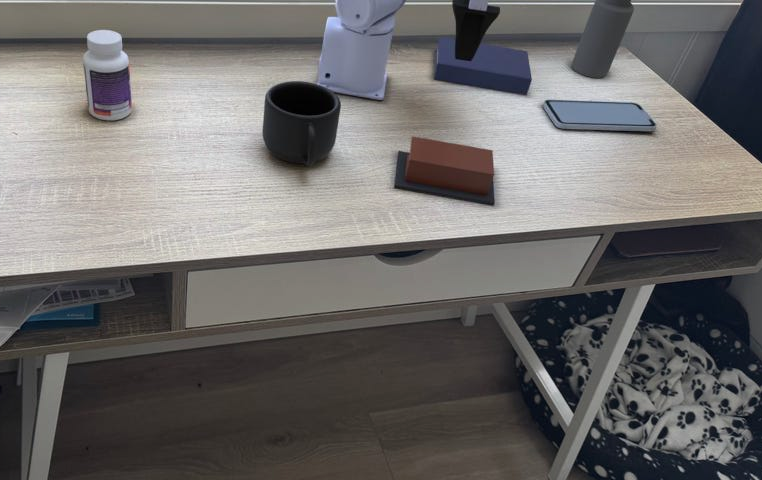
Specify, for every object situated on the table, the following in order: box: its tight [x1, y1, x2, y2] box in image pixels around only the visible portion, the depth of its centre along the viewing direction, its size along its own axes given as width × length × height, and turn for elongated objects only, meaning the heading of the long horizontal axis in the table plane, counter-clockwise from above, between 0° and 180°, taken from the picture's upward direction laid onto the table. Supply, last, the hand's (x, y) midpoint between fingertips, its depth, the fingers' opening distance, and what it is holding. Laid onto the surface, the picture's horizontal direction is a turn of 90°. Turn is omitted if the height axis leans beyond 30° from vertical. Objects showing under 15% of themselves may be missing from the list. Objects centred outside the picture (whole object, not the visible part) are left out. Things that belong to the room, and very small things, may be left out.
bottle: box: [571, 0, 635, 79], centre depth 113 cm, size 6×6×15 cm
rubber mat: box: [394, 150, 496, 206], centre depth 90 cm, size 12×8×1 cm, turn 81°
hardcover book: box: [433, 35, 533, 96], centre depth 112 cm, size 14×10×2 cm
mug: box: [262, 80, 342, 167], centre depth 88 cm, size 12×9×7 cm
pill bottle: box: [82, 29, 133, 121], centre depth 90 cm, size 5×5×10 cm
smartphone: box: [542, 99, 658, 132], centre depth 106 cm, size 7×1×15 cm
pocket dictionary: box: [405, 136, 495, 195], centre depth 89 cm, size 10×6×3 cm, turn 81°
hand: (463, 47), depth 94 cm, fingers open, 7 cm apart
